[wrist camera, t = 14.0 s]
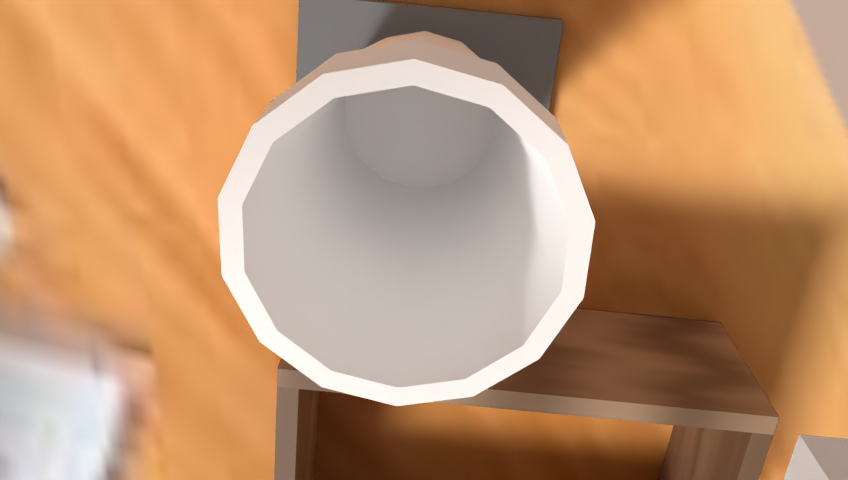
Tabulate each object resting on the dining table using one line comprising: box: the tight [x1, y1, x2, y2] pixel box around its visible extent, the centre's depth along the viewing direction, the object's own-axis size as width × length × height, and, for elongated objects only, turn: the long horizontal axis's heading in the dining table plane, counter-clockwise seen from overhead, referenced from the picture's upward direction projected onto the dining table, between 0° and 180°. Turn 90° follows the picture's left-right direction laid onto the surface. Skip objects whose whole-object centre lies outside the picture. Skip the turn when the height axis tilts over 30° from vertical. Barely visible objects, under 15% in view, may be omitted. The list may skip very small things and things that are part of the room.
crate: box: [274, 308, 779, 480], centre depth 36 cm, size 19×14×7 cm
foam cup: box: [218, 31, 595, 406], centre depth 26 cm, size 10×9×13 cm
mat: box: [296, 0, 563, 111], centre depth 32 cm, size 10×8×1 cm
